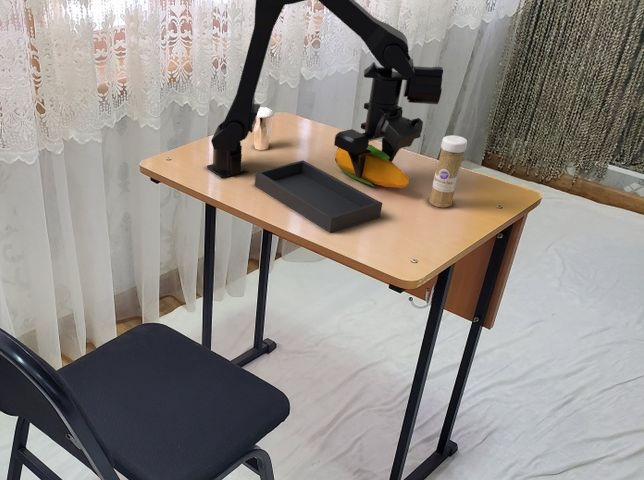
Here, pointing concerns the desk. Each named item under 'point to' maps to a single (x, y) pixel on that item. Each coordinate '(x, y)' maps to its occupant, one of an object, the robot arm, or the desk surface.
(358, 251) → the desk surface
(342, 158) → the corn
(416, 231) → the desk surface
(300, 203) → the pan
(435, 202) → the sprinkles bottle
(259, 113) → the milkshake
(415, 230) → the desk surface
